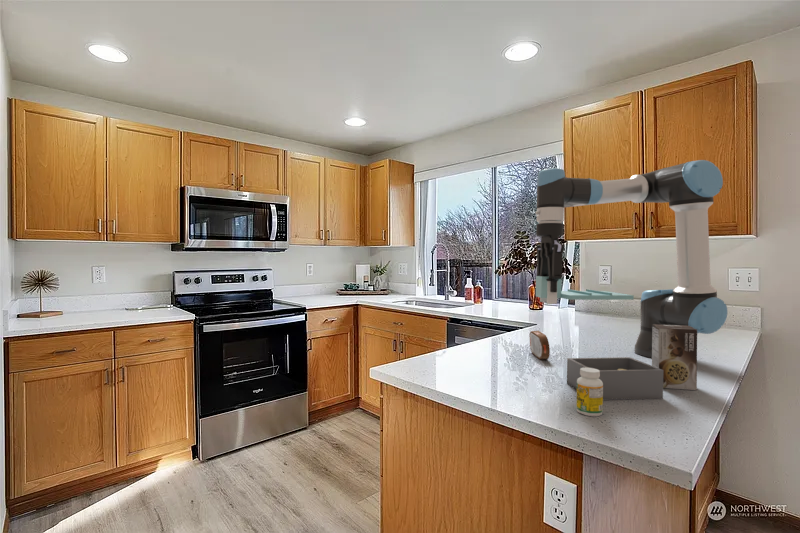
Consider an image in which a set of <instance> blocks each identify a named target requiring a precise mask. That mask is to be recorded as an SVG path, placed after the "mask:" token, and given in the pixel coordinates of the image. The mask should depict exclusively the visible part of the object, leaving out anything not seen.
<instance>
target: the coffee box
mask: <svg viewBox="0 0 800 533" xmlns="http://www.w3.org/2000/svg"><path fill="white" fill-rule="evenodd" d="M651 366H654V367H657V368H659V369H662V370H663V389H676V390H688V391H697V388H698V387H697V386H698V384H697V383H698V368H697V367H698V333H697V329H694V328H693V327H691V326H685V325H657V324H652V357H651Z"/></svg>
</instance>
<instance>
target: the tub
mask: <svg viewBox="0 0 800 533" xmlns="http://www.w3.org/2000/svg"><path fill="white" fill-rule="evenodd" d="M566 360H567V361H566V384H567V385H568V386H569V387H571V388H573V389H574V390H576V391H577V379H578V378H579V377H581V375H580V369H581V368H594V369H598V370H599V371H600V377H599V378H598V379H600V380H601V381H602V382H603V401H609V400H610V401H611V400H616V401H618V400H652V399H653V400H655V399H656V400H657V399H660V400H661V399H664V388H663V370H662V369H659V368H657V367H654V366H652V364H648V363H646V362H644V361H641V360H638V359H636V358H633V357H630V356H629V357H627V356H626V357H624V356H623V357H622V356H621V357H618V356H617V357H614V356H613V357H568V358H566Z"/></svg>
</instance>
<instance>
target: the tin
mask: <svg viewBox="0 0 800 533" xmlns="http://www.w3.org/2000/svg"><path fill="white" fill-rule="evenodd" d="M528 336H529V337H528V338H529V350H530V351H531V353H532V355H534V356H535V357H536V358H537V359H538V360H549V358H550V351H551V350H550V342H549V339H548V337H547V335H546V334H544V333H543V332H541V331H540V330H532V331H530V332H529V335H528Z"/></svg>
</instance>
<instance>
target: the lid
mask: <svg viewBox="0 0 800 533" xmlns="http://www.w3.org/2000/svg"><path fill="white" fill-rule="evenodd" d="M546 279H549V276H537V275H536V276H535V297H536V298H539V299H540V298H547V280H546ZM562 283H563V282H562V279H559V280H558V281H557V299H565V300H568V301H571V300H572V301H573V300H574V301H576V300H579V301H580V300H586V301H588V300H590V301H591V300H593V301H594V300H595V301H596V300H598V301H600V300H605V301H606V300H607V301H610V300H611V301H612V300H614V301H615V300H618V301H620V300H623V301H627V300H630V301H631V300H634V299H635V298H634V296H635V295H634V294H626V293H620V292H614V291H608V290H595V289H585V290H578V289H577V290H575V289H570V288H569V289H568V288H567V290H562Z"/></svg>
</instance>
